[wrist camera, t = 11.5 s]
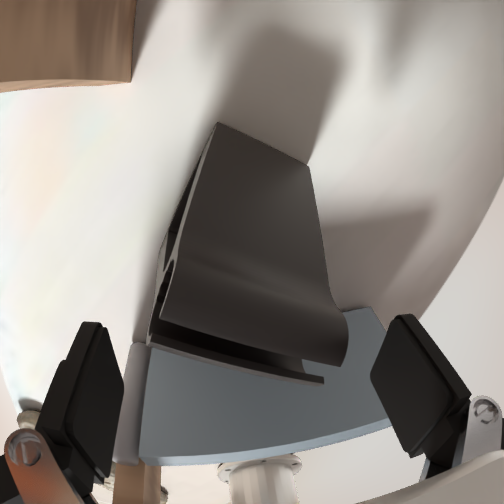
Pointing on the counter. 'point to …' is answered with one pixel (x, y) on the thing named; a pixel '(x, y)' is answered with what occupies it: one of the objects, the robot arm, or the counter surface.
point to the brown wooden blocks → (75, 74)
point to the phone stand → (247, 267)
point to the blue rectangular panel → (245, 405)
